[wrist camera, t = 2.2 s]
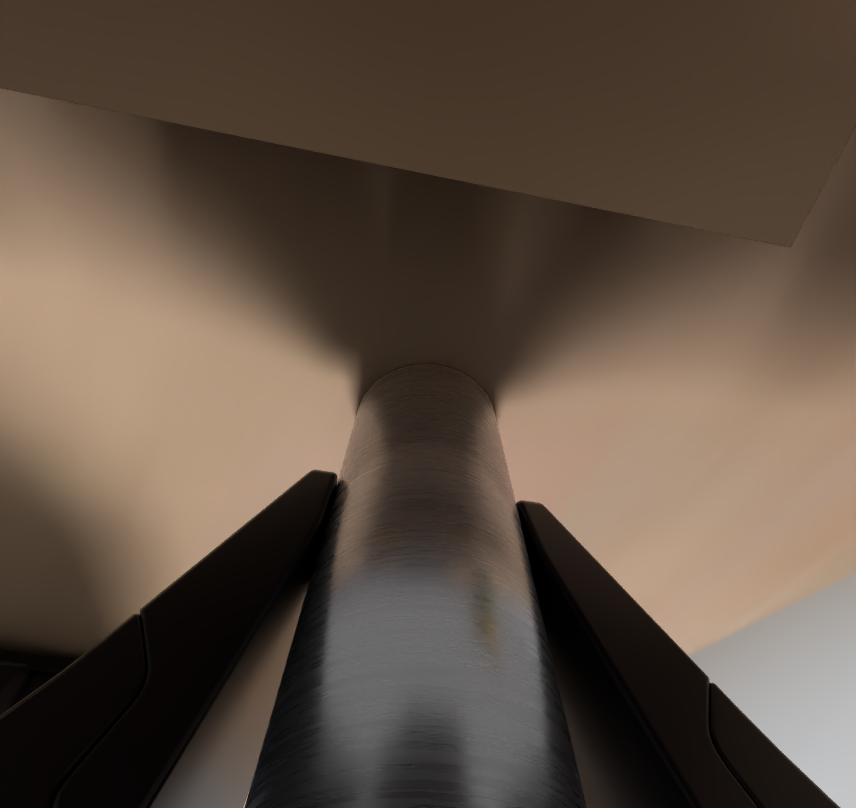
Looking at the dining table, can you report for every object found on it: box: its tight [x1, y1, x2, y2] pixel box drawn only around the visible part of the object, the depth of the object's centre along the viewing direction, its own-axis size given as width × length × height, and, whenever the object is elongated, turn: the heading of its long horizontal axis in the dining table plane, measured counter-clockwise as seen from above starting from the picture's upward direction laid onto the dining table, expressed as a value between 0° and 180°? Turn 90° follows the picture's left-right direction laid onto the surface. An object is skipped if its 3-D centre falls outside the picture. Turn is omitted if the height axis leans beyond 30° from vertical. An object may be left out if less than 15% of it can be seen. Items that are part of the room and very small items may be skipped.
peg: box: [245, 363, 587, 808], centre depth 7 cm, size 3×3×8 cm
